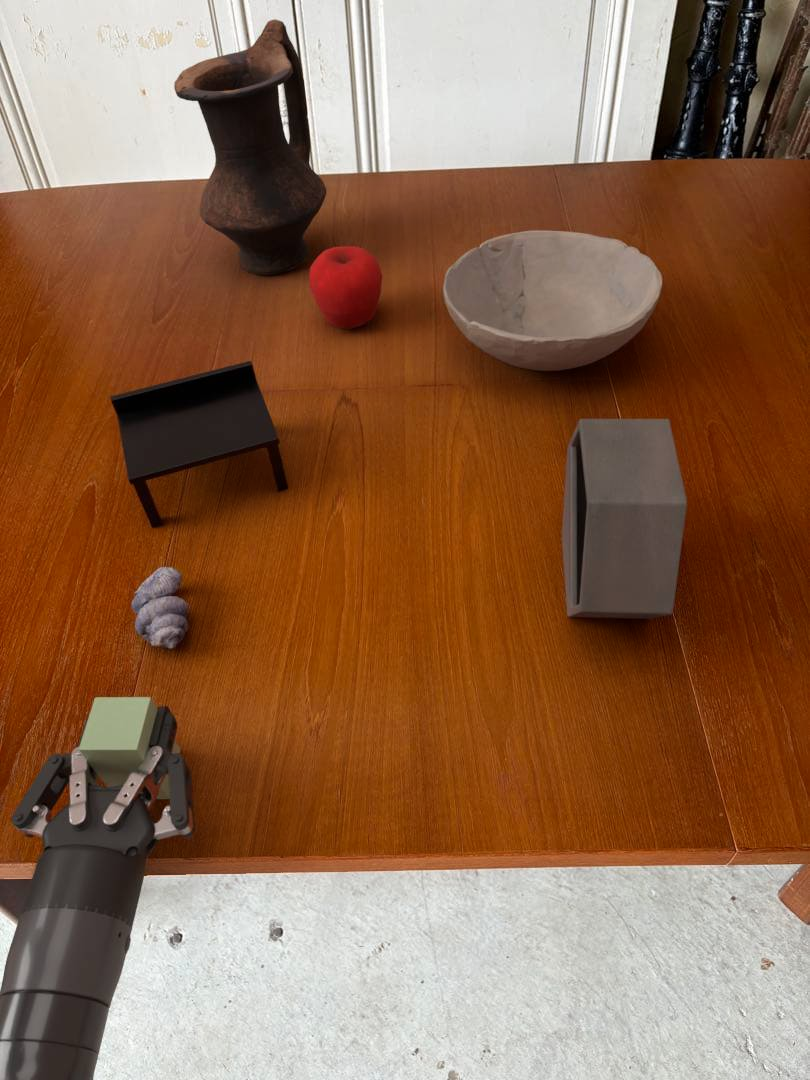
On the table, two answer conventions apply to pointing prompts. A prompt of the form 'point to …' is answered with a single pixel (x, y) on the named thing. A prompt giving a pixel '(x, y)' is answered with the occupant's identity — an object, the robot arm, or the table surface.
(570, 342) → the bowl
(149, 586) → the seashell
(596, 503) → the grey open box
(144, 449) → the bench
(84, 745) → the block
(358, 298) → the apple
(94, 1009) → the robot arm
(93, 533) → the table surface
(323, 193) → the jug
